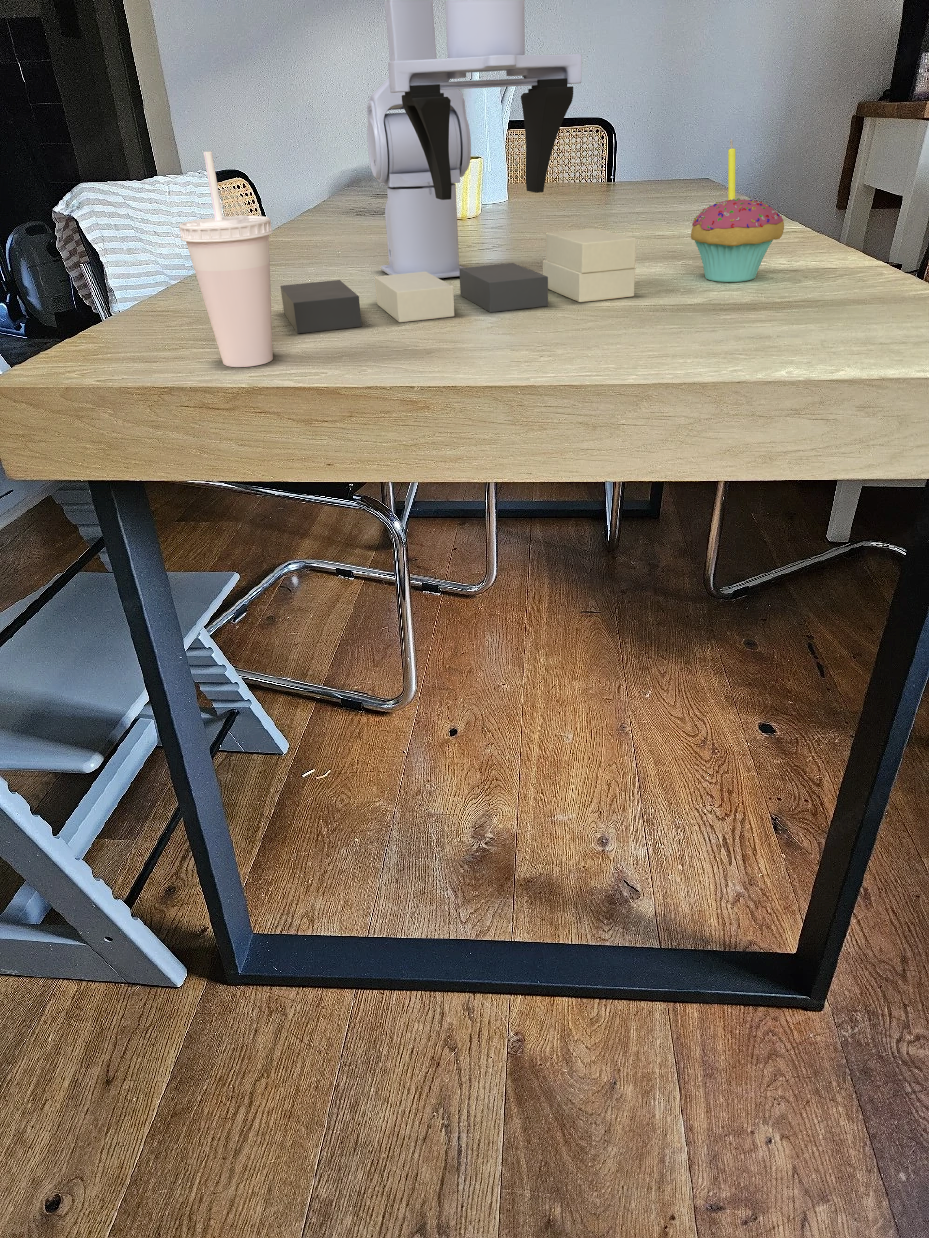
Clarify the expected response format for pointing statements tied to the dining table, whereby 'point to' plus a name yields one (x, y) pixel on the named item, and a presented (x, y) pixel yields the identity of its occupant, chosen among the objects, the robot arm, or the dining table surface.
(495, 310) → the grey book
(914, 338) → the dining table surface
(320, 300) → the grey book
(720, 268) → the cupcake
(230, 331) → the smoothie
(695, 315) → the dining table surface
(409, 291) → the cream book
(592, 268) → the cream stack
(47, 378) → the dining table surface
